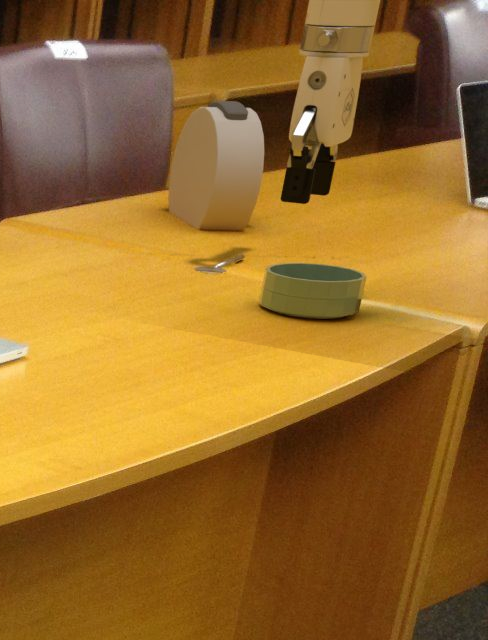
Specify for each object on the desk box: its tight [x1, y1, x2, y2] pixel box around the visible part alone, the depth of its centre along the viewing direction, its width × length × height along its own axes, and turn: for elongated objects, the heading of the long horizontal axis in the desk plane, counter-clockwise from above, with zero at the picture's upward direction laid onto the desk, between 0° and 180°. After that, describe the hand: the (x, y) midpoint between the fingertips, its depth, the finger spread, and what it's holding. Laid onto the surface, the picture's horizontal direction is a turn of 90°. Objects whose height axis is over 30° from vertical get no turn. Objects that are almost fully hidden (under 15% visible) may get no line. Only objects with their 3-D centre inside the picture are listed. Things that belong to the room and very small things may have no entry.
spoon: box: [193, 253, 245, 274], centre depth 226 cm, size 16×4×1 cm, turn 141°
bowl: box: [258, 262, 367, 320], centre depth 201 cm, size 12×12×5 cm
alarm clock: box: [167, 100, 265, 232], centre depth 252 cm, size 21×8×20 cm, turn 179°
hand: (304, 197), depth 187 cm, fingers open, 7 cm apart
